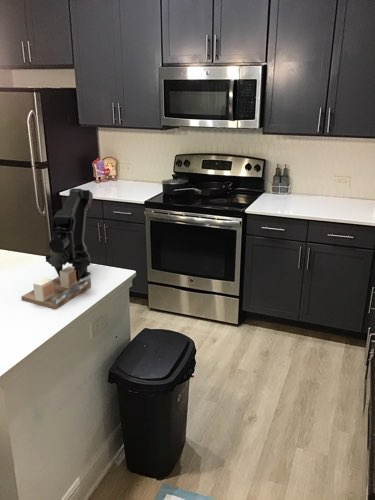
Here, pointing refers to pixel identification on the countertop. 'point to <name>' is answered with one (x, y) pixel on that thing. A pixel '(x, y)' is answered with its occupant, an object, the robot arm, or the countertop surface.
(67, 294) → the brown tray
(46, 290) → the faced carton
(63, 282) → the askew carton
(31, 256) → the countertop surface
